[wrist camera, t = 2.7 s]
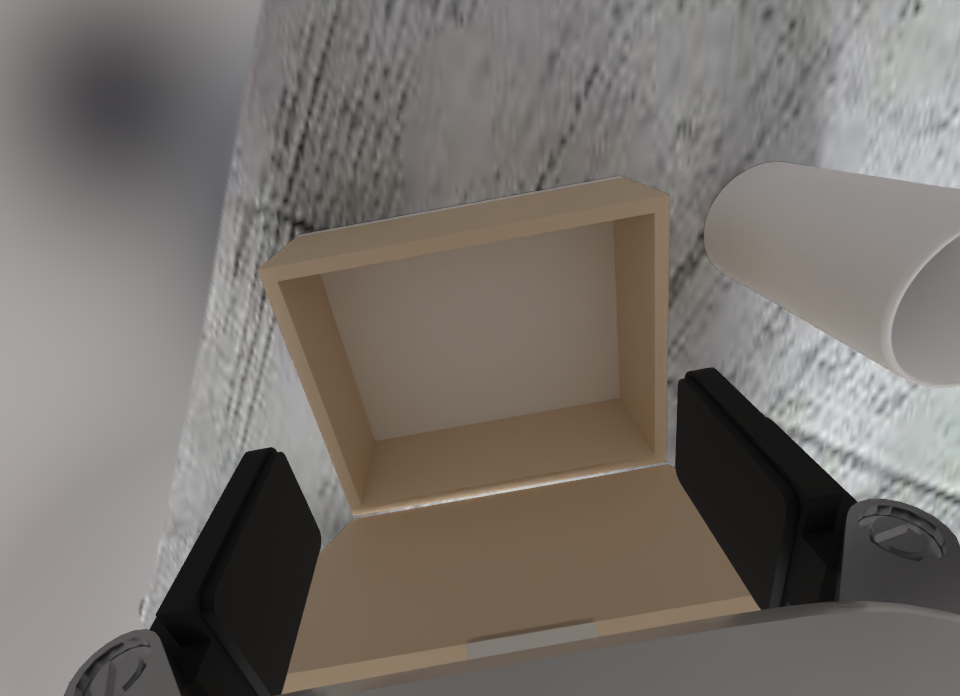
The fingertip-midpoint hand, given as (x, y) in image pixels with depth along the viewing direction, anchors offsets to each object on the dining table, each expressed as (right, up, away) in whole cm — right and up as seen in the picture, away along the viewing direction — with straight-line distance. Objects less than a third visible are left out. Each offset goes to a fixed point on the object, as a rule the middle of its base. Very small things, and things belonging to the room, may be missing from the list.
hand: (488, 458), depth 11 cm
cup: (+20, +12, +23) cm, 33 cm away
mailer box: (0, +4, +25) cm, 25 cm away
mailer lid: (+2, -7, +12) cm, 14 cm away
